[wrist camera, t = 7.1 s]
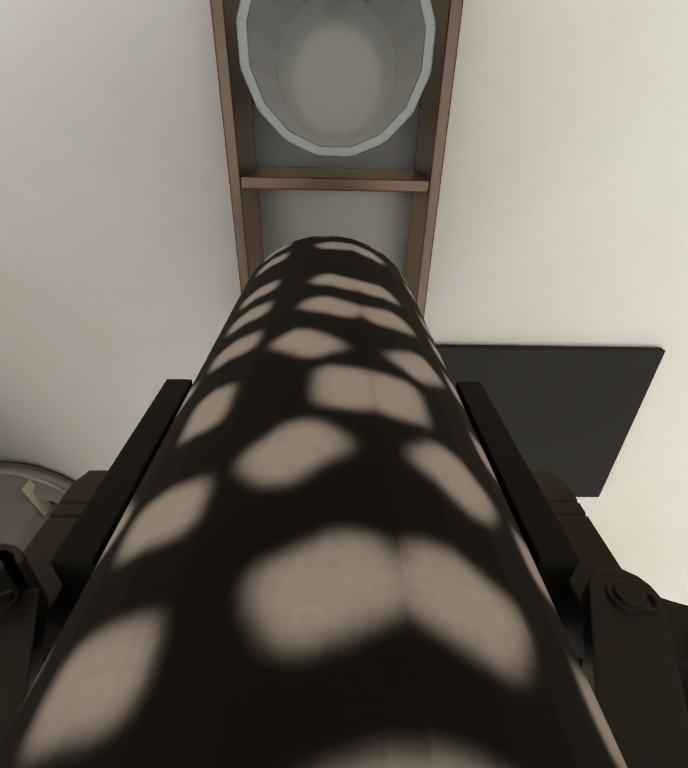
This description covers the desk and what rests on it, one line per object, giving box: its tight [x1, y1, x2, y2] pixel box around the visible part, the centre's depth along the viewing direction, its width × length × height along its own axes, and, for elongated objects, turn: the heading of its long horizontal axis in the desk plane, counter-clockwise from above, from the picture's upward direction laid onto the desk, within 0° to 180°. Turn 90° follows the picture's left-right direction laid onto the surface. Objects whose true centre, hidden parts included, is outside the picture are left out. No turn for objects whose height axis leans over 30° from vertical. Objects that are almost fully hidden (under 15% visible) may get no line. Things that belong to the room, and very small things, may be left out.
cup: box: [236, 0, 436, 157], centre depth 21 cm, size 7×7×10 cm
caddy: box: [210, 0, 463, 319], centre depth 25 cm, size 11×22×6 cm, turn 179°
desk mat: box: [436, 345, 665, 497], centre depth 38 cm, size 20×16×1 cm
